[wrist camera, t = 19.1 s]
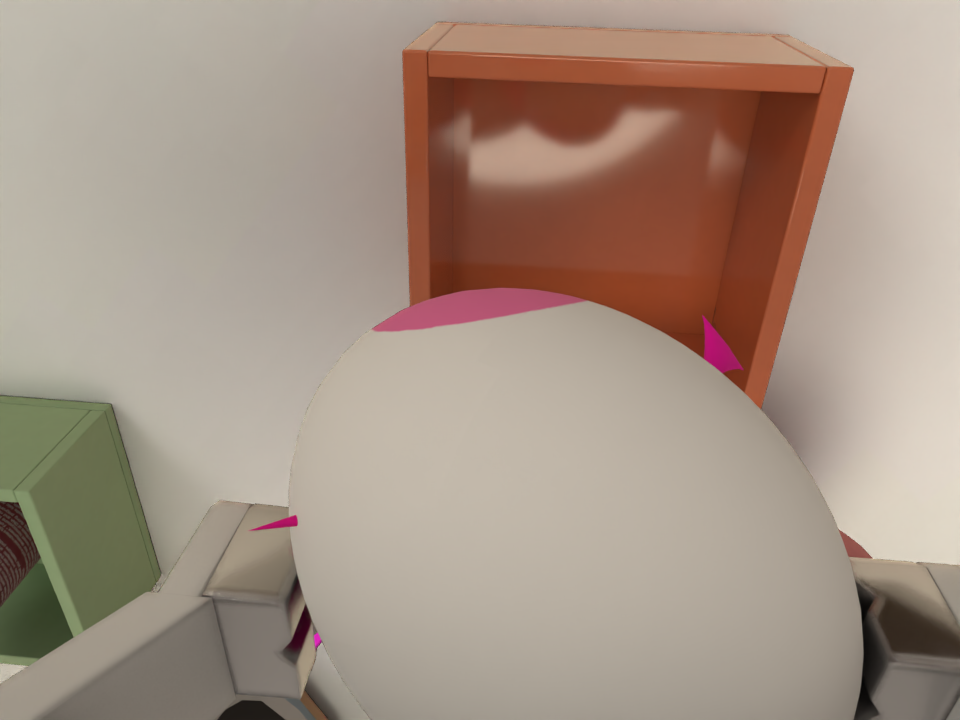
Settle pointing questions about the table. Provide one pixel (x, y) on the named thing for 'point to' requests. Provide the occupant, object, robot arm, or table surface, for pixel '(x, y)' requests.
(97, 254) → the table surface
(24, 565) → the pill bottle
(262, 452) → the table surface
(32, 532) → the sage bin
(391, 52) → the table surface
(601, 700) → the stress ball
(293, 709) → the alarm clock
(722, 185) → the terracotta bin
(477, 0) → the table surface
